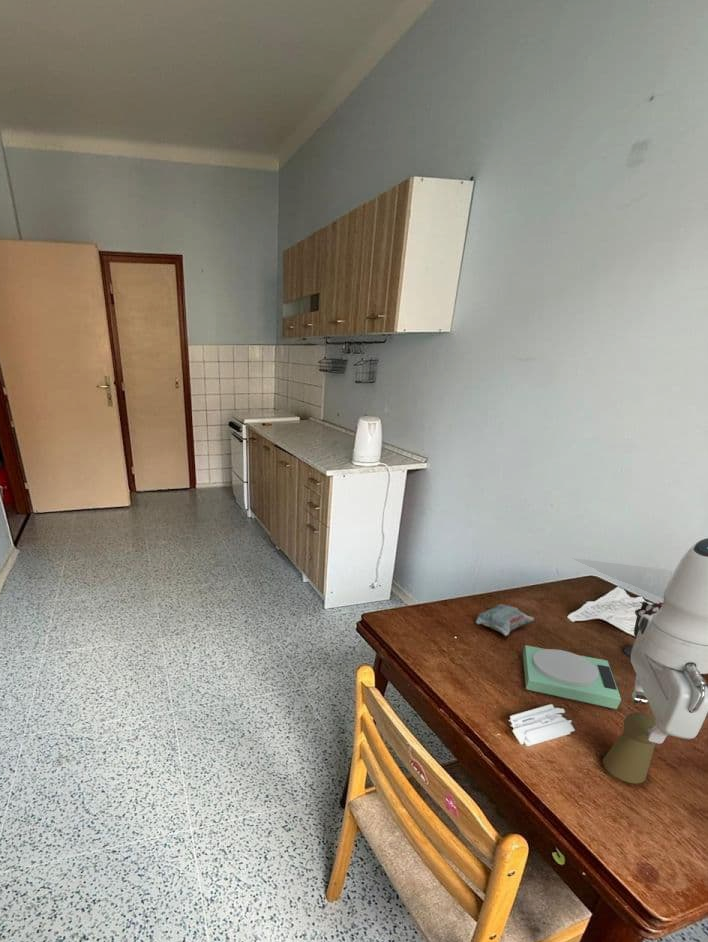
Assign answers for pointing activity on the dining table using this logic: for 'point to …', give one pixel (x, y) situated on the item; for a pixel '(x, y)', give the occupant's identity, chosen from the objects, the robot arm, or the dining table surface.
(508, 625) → the packaged food
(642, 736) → the dark olive tapered piece
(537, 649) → the scale
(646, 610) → the sundae
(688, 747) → the dining table surface
